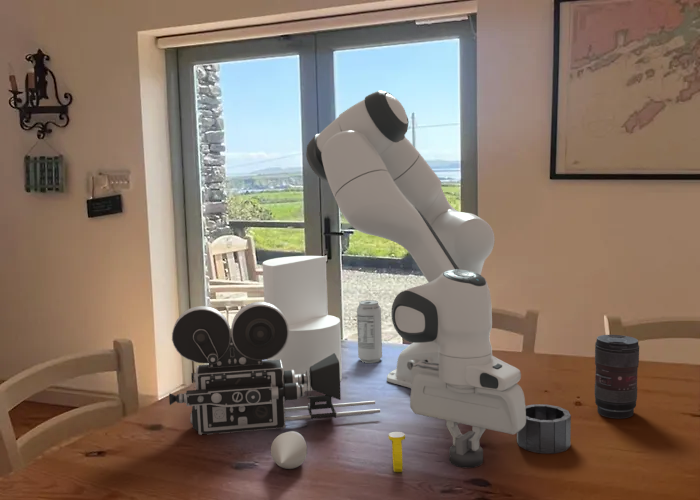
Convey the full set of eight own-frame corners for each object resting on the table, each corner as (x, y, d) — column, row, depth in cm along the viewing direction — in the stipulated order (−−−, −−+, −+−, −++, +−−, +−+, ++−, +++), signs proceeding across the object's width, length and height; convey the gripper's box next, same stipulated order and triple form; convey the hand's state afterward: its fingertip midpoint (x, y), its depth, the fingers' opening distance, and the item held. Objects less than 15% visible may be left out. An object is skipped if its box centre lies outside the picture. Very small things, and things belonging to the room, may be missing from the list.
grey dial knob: (443, 463, 126) (443, 437, 125) (459, 451, 130) (459, 427, 129) (473, 470, 122) (473, 444, 122) (488, 458, 127) (488, 434, 126)
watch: (407, 476, 121) (406, 441, 120) (390, 477, 121) (389, 441, 120) (404, 461, 127) (404, 427, 126) (388, 461, 127) (387, 428, 126)
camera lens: (641, 421, 142) (643, 344, 140) (596, 419, 143) (597, 343, 141) (634, 406, 150) (635, 333, 148) (591, 405, 151) (592, 333, 149)
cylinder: (252, 382, 173) (246, 263, 170) (304, 364, 186) (299, 254, 183) (305, 396, 162) (301, 269, 159) (357, 376, 175) (353, 258, 171)
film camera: (171, 444, 137) (163, 317, 134) (176, 422, 149) (168, 305, 146) (384, 426, 143) (381, 304, 140) (372, 405, 155) (369, 293, 152)
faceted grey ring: (509, 446, 132) (509, 415, 131) (529, 430, 139) (529, 401, 138) (558, 457, 126) (558, 425, 126) (577, 440, 134) (577, 410, 133)
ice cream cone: (279, 491, 117) (291, 466, 132) (309, 465, 116) (318, 444, 131) (254, 460, 117) (269, 439, 132) (283, 435, 117) (295, 417, 132)
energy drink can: (387, 359, 189) (385, 301, 187) (371, 365, 184) (369, 305, 182) (369, 355, 193) (367, 298, 191) (353, 360, 188) (351, 302, 187)
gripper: (402, 363, 128) (403, 441, 129) (513, 382, 116) (514, 467, 117) (421, 355, 133) (422, 429, 135) (530, 372, 121) (530, 453, 122)
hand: (466, 447), depth 126 cm, fingers closed on grey dial knob
